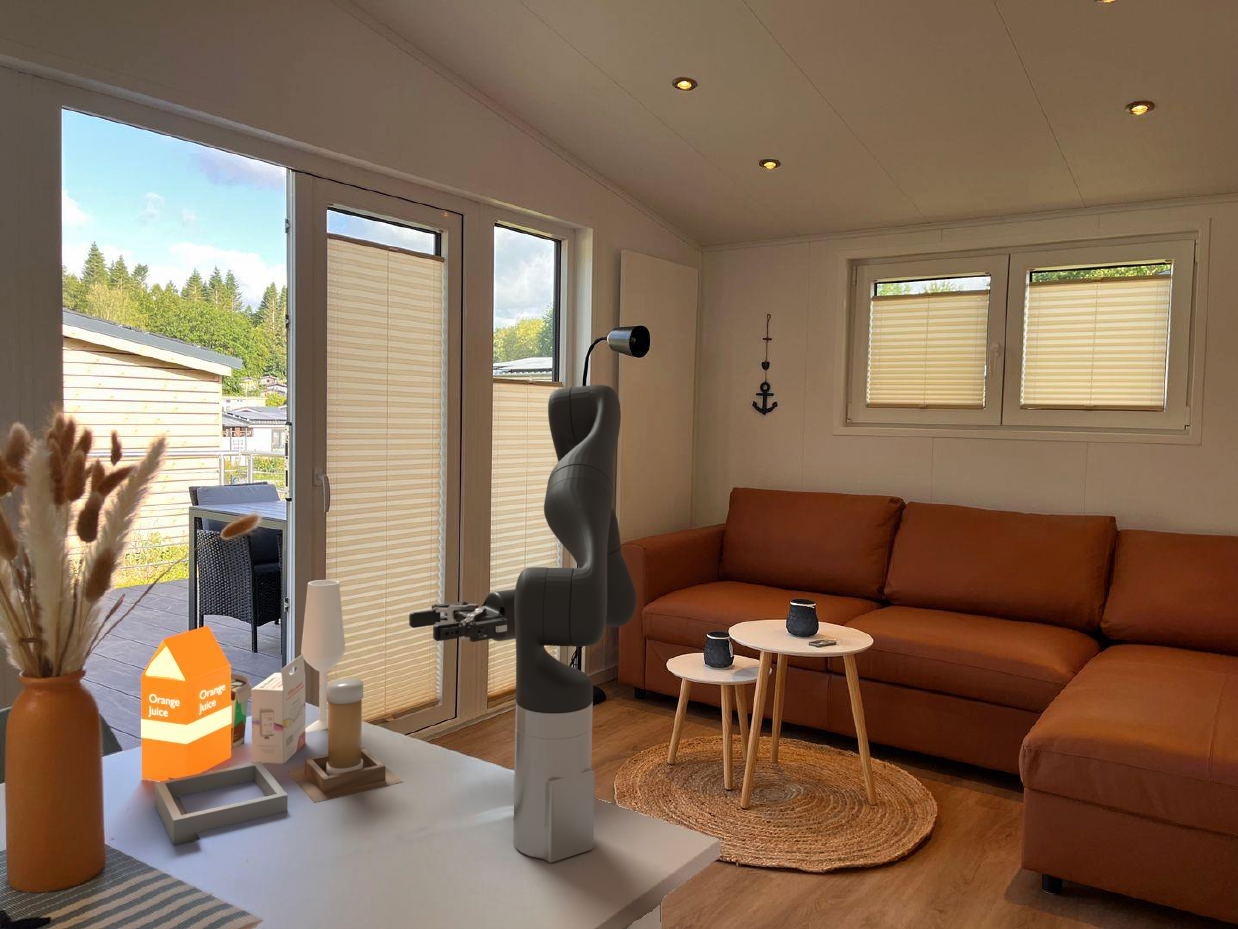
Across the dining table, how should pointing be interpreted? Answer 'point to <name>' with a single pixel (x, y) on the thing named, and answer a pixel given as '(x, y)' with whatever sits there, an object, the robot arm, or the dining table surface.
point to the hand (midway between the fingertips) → (421, 626)
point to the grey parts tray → (188, 825)
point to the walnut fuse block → (342, 778)
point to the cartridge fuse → (344, 725)
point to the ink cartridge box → (279, 714)
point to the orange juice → (185, 707)
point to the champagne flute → (322, 637)
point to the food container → (239, 707)
